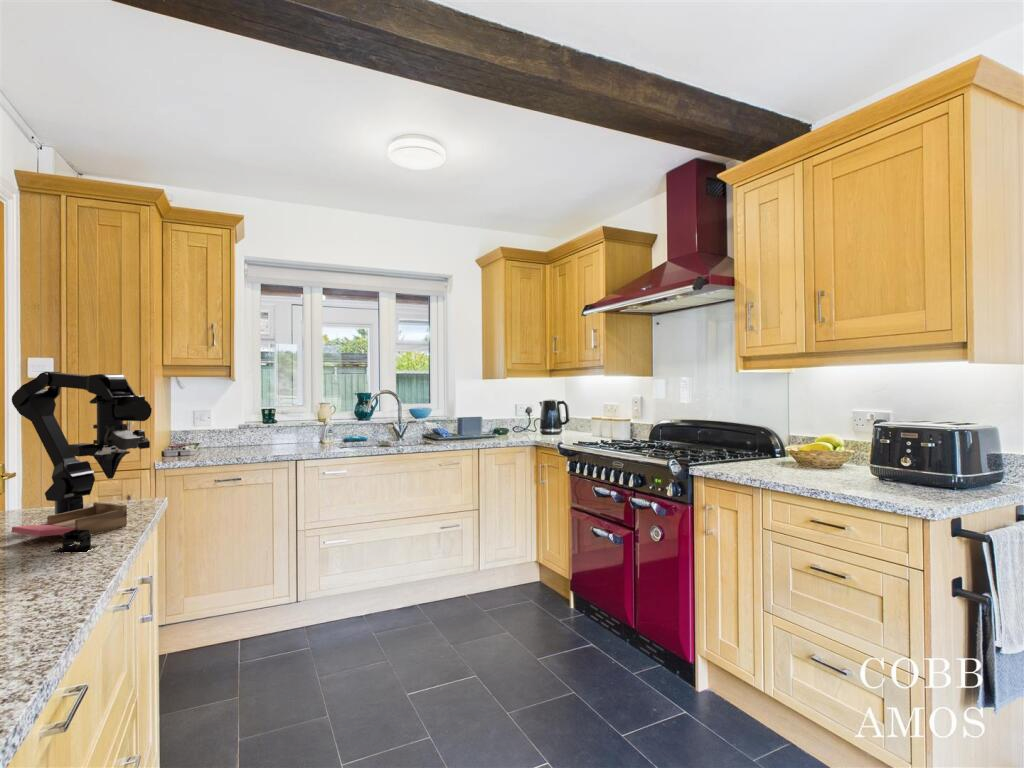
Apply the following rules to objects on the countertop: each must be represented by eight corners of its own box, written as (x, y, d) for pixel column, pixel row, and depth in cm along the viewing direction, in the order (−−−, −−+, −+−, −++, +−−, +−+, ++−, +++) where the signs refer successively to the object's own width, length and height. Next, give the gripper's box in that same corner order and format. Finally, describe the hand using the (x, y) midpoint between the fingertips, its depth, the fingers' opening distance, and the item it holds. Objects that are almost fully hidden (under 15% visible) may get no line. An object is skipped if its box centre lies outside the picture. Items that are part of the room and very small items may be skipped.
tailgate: (75, 528, 132) (40, 530, 125) (73, 536, 132) (39, 539, 125) (47, 524, 136) (12, 526, 129) (45, 532, 135) (10, 535, 128)
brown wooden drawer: (47, 534, 136) (47, 512, 136) (97, 522, 147) (97, 501, 147) (78, 538, 133) (78, 516, 133) (126, 525, 144) (126, 505, 144)
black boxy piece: (36, 556, 121) (36, 536, 121) (63, 546, 129) (63, 526, 128) (92, 556, 121) (92, 536, 121) (115, 546, 129) (115, 527, 128)
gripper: (94, 424, 135) (95, 487, 135) (164, 419, 153) (164, 474, 153) (64, 422, 139) (64, 484, 139) (135, 417, 156) (135, 472, 156)
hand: (110, 478), depth 147 cm, fingers closed
